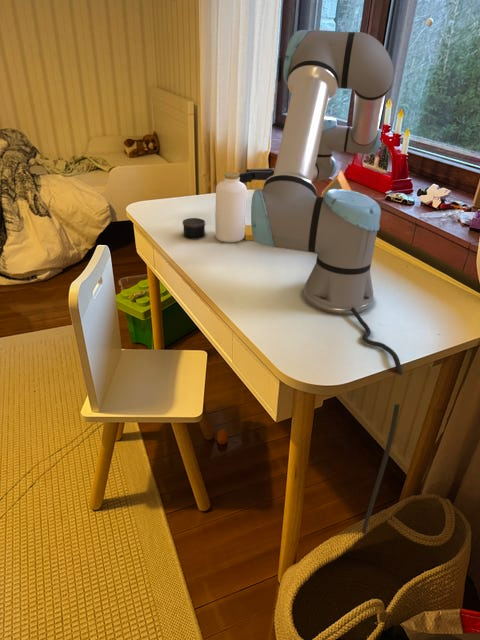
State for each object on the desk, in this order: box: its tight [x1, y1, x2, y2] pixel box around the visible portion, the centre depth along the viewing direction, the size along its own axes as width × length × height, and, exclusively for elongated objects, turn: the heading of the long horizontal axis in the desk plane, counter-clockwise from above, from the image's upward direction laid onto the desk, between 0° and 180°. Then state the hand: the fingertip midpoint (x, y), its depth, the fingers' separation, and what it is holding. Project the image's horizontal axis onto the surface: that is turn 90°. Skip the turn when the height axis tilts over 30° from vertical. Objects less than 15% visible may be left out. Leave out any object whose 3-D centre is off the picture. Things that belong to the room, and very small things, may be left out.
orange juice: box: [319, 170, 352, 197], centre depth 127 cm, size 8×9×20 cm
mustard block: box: [244, 224, 254, 241], centre depth 138 cm, size 8×6×2 cm
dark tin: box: [182, 217, 206, 240], centre depth 135 cm, size 6×6×4 cm
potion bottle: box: [214, 171, 248, 243], centre depth 131 cm, size 8×8×18 cm
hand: (252, 185), depth 137 cm, fingers open, 13 cm apart
